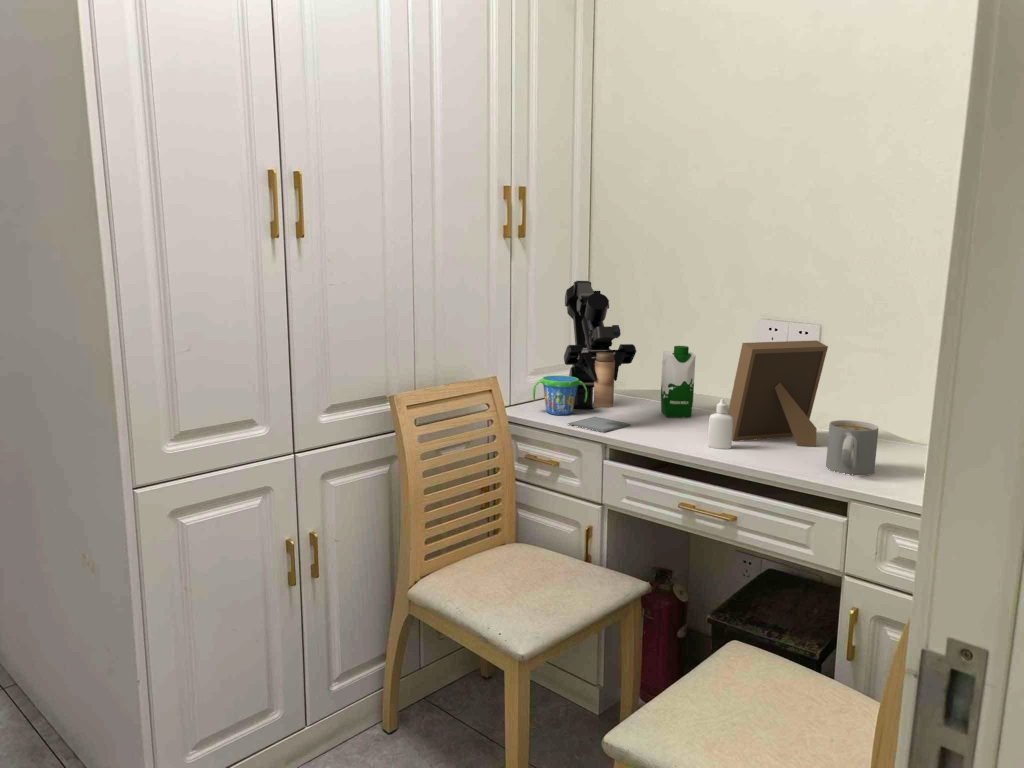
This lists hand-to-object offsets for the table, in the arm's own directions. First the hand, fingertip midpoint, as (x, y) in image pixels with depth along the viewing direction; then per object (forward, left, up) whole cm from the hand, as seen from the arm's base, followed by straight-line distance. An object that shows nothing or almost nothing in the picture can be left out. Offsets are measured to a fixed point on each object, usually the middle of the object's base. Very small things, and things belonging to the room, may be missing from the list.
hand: (605, 380), depth 212 cm
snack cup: (-16, -13, -13) cm, 25 cm away
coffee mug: (+29, +55, -13) cm, 63 cm away
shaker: (-1, 0, -7) cm, 7 cm away
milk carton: (-21, +20, -13) cm, 32 cm away
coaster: (-3, -1, -13) cm, 13 cm away
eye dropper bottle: (+14, +29, -13) cm, 34 cm away
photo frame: (+5, +44, -13) cm, 46 cm away
